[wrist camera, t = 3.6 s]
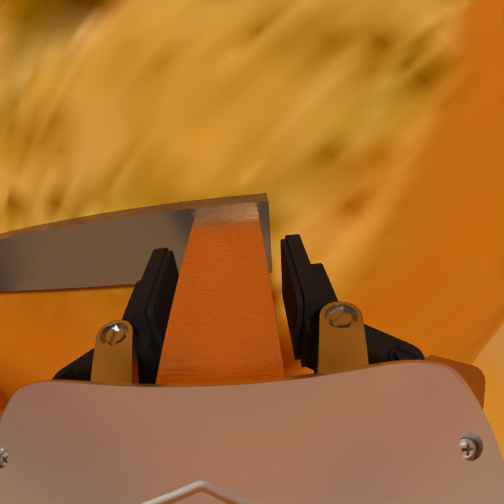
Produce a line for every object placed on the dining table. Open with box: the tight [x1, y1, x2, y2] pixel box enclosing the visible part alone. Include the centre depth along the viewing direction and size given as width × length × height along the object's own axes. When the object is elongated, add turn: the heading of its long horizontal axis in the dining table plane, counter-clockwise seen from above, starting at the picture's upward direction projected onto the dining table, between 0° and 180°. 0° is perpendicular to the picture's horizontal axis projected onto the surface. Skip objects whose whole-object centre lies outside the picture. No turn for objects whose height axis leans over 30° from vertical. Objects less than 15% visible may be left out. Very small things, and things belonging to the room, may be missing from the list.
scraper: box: [0, 193, 285, 384], centre depth 11 cm, size 24×4×11 cm, turn 95°
